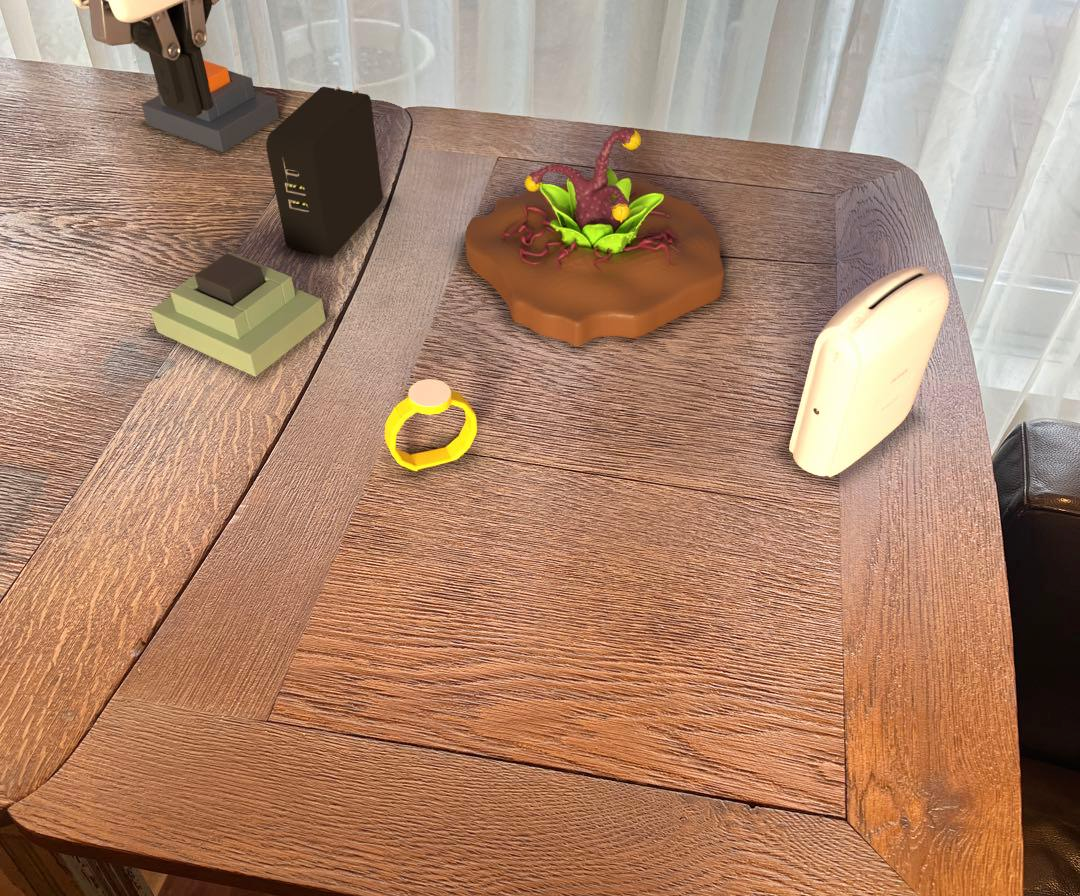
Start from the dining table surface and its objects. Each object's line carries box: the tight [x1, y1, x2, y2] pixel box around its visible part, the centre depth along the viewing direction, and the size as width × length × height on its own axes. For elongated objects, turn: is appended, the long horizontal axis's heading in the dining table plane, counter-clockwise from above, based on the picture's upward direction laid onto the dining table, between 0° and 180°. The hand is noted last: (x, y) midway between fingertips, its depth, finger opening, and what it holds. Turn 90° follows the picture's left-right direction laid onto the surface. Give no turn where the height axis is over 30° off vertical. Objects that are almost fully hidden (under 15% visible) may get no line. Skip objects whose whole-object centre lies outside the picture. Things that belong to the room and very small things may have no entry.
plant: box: [464, 127, 725, 347], centre depth 81 cm, size 20×20×11 cm
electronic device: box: [265, 86, 383, 258], centre depth 85 cm, size 4×10×10 cm, turn 160°
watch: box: [384, 378, 478, 472], centre depth 67 cm, size 6×3×6 cm, turn 113°
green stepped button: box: [149, 251, 327, 378], centre depth 78 cm, size 10×8×4 cm
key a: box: [194, 252, 264, 306], centre depth 76 cm, size 3×3×2 cm
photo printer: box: [788, 265, 950, 478], centre depth 67 cm, size 10×4×12 cm, turn 133°
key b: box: [203, 59, 230, 92], centre depth 98 cm, size 3×3×2 cm
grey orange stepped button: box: [141, 70, 280, 153], centre depth 99 cm, size 10×8×4 cm
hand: (189, 106), depth 71 cm, fingers closed
